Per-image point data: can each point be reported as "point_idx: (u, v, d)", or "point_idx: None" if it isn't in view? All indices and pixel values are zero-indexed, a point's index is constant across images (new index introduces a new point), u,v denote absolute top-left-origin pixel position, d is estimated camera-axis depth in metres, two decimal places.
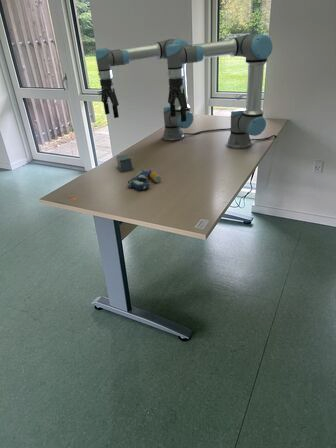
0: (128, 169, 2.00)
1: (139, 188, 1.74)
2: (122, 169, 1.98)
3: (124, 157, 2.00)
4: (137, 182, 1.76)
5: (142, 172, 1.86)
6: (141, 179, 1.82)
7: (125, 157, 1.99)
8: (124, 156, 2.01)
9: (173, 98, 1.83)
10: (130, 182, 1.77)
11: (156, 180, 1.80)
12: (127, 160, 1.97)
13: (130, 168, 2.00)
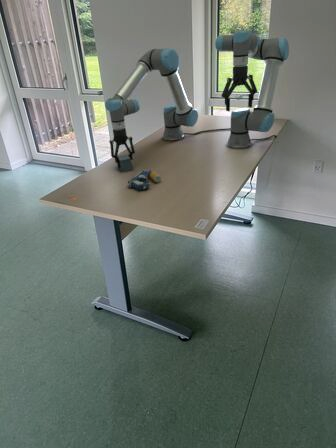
0: (128, 169, 2.00)
1: (139, 188, 1.74)
2: (122, 169, 1.98)
3: (124, 157, 2.00)
4: (137, 182, 1.76)
5: (142, 172, 1.86)
6: (141, 179, 1.82)
7: (125, 157, 1.99)
8: (124, 156, 2.01)
9: None
10: (130, 182, 1.77)
11: (156, 180, 1.80)
12: (127, 160, 1.97)
13: (130, 168, 2.00)
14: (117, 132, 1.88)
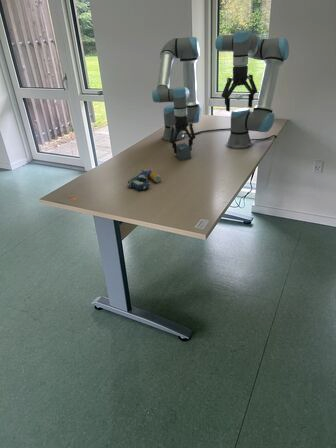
0: (187, 157, 2.09)
1: (139, 188, 1.74)
2: (182, 157, 2.07)
3: (183, 145, 2.09)
4: (137, 182, 1.76)
5: (142, 172, 1.86)
6: (141, 179, 1.82)
7: (184, 146, 2.08)
8: (183, 145, 2.10)
9: None
10: (130, 182, 1.77)
11: (156, 180, 1.80)
12: (187, 149, 2.06)
13: (189, 156, 2.09)
14: (180, 118, 1.97)
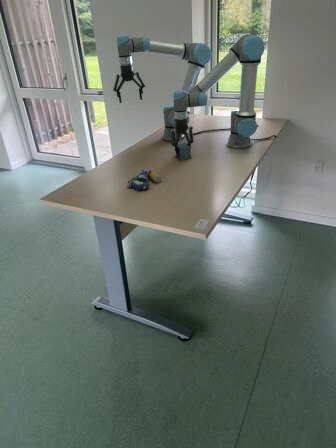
0: (187, 157, 2.09)
1: (139, 188, 1.74)
2: (182, 157, 2.07)
3: (183, 145, 2.09)
4: (137, 182, 1.76)
5: (142, 172, 1.86)
6: (141, 179, 1.82)
7: (184, 146, 2.08)
8: (183, 145, 2.10)
9: None
10: (130, 182, 1.77)
11: (156, 180, 1.80)
12: (187, 149, 2.06)
13: (189, 156, 2.09)
14: (124, 67, 2.00)
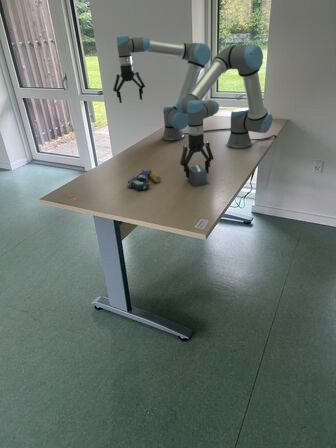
0: (202, 183, 1.75)
1: (139, 188, 1.74)
2: (196, 183, 1.74)
3: (197, 169, 1.75)
4: (137, 182, 1.76)
5: (142, 172, 1.86)
6: (141, 179, 1.82)
7: (199, 169, 1.74)
8: (197, 168, 1.76)
9: None
10: (130, 182, 1.77)
11: (156, 180, 1.80)
12: (202, 173, 1.72)
13: (205, 182, 1.75)
14: (124, 67, 2.00)
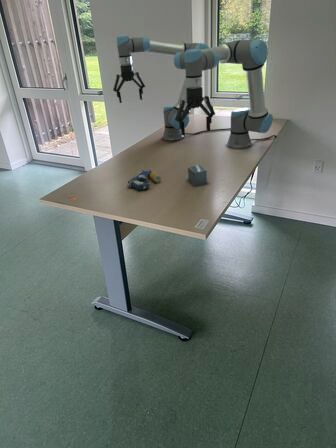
0: (202, 183, 1.75)
1: (139, 188, 1.74)
2: (196, 183, 1.74)
3: (197, 169, 1.75)
4: (137, 182, 1.76)
5: (142, 172, 1.86)
6: (141, 179, 1.82)
7: (199, 169, 1.74)
8: (197, 168, 1.76)
9: None
10: (130, 182, 1.77)
11: (156, 180, 1.80)
12: (202, 173, 1.72)
13: (205, 182, 1.75)
14: (124, 67, 2.00)
